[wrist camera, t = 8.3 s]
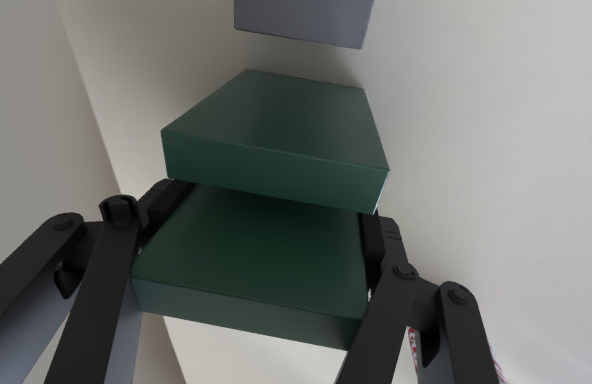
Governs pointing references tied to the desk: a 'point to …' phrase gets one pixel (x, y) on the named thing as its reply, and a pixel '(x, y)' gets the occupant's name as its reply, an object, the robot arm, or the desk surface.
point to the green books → (282, 142)
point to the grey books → (307, 20)
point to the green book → (257, 267)
